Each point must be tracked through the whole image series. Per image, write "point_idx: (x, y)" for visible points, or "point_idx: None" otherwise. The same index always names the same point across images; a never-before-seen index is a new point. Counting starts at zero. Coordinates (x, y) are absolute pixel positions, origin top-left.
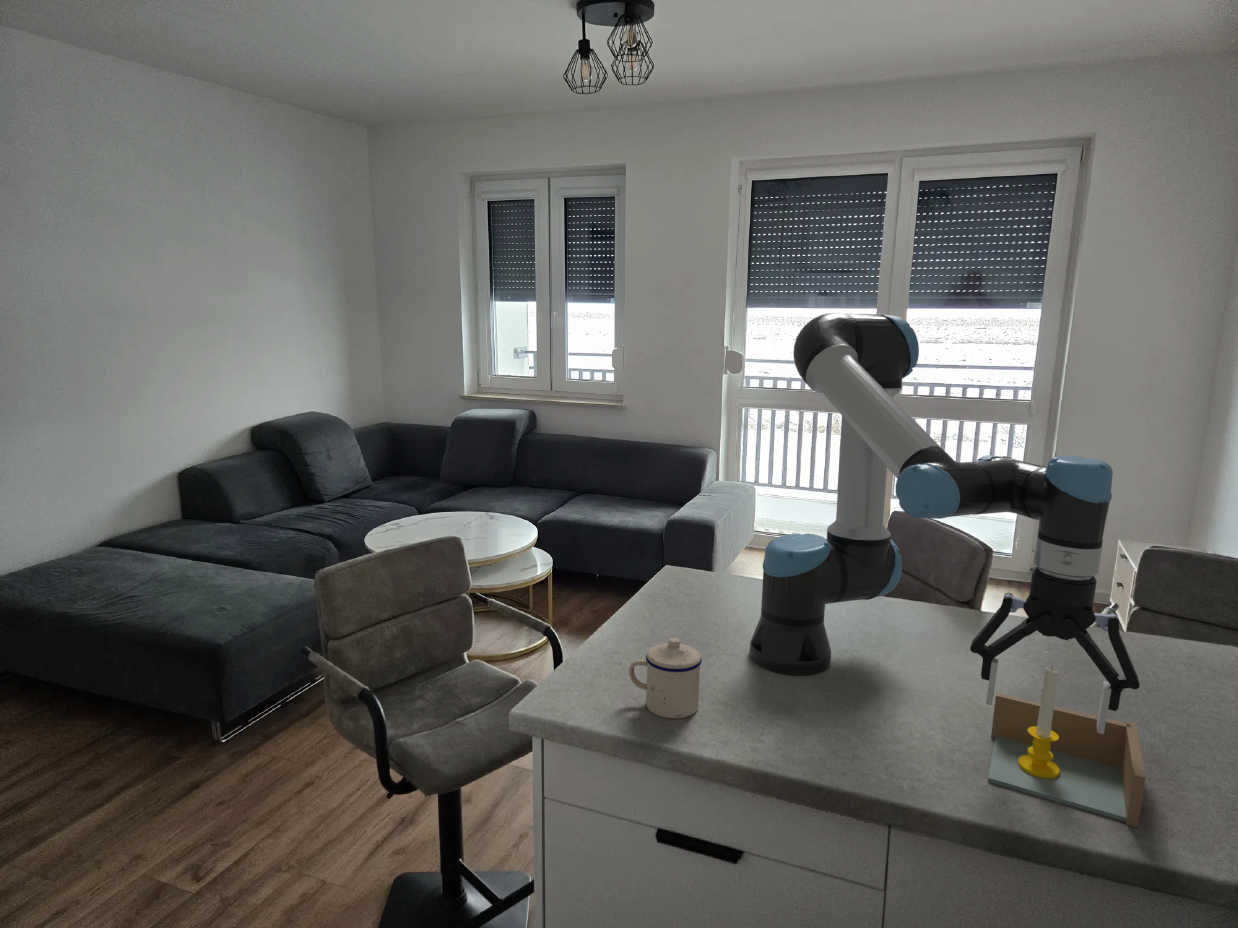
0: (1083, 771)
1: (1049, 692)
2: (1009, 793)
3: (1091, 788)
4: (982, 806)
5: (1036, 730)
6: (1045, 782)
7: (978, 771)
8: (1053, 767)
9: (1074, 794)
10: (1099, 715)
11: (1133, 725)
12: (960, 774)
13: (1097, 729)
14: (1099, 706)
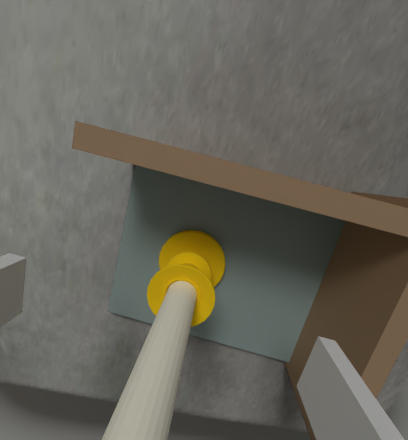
0: (269, 249)
1: None
2: (138, 328)
3: (264, 300)
4: (99, 366)
5: (171, 277)
6: None
7: (100, 283)
8: (215, 267)
9: (230, 323)
10: (325, 425)
11: None
12: (74, 298)
13: (301, 385)
14: (354, 396)
